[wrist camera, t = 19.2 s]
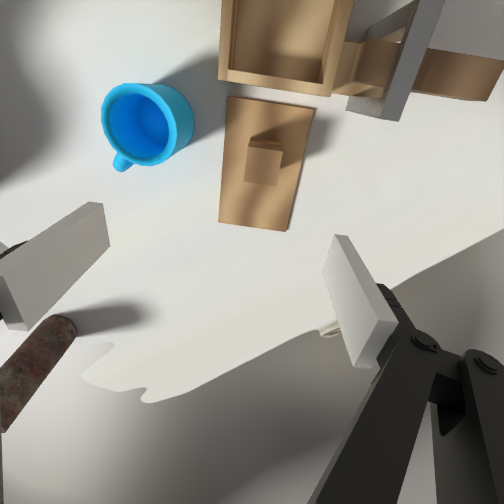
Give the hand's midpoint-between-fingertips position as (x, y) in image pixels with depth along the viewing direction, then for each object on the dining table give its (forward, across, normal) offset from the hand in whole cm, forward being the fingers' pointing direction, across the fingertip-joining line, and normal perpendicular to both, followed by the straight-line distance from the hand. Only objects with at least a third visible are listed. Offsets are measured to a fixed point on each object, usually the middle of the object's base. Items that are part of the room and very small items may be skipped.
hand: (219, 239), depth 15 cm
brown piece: (+26, -35, -42) cm, 61 cm away
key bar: (+18, +16, +11) cm, 26 cm away
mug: (+26, -12, +1) cm, 29 cm away
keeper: (+25, +13, +11) cm, 31 cm away
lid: (+26, +3, -2) cm, 26 cm away
